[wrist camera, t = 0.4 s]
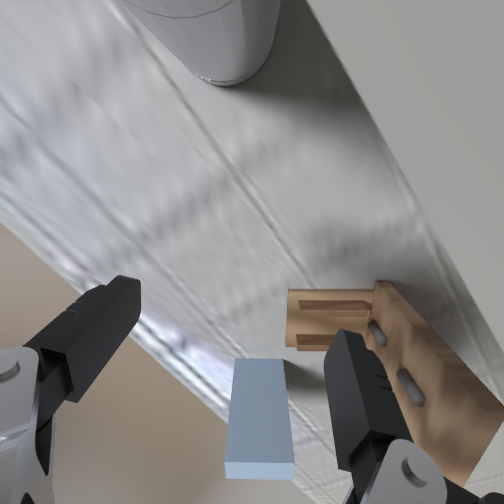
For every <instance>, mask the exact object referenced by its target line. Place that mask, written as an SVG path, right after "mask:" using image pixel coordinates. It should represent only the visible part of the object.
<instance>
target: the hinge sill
mask: <svg viewBox="0 0 504 504" xmlns="http://www.w3.org/2000/svg"><path fill="white" fill-rule="evenodd" d="M339 329H345V330H349V331H353V332H357V333H361V334H362V336H363V339H364V342H365V344H366V347H367V349H369V350H373V351H374V353H375V354H376V355H377V357H378V358H379V359H380V360H381V362H382V363H383V365H384V368H385V370H386V373H387V375H388V380H390V383H391V386H392V388H393V392H394V393H395V396H396V398H397V401H398V403H399V406H400V409H401V411H402V414H403V416H404V419H405V421H406V424H407V426H408V429H409V431H410V434H411V437H412V439H413V441H414V443H415V444H416V445H417V446H419V447H420V448H421V449H423V450H424V451H425V452H426V453H427V454H428V455H429V456H430V457H431V458H432V460H433V461H434V462H435V463H436V465H437V467H438V468H439V470H440V472H441V473H442V475H443V476H444V477H445V478H447V479H449V480H450V481H452V482H454V483H455V484H457V485H459V486H460V487H462V488H463V486H464V485H465V483H466V481H467V480H468V478H469V477H470V475H471V473H472V472H473V470H474V468H475V467H476V465H477V463H478V462H479V460H480V458H481V457H482V455H483V454H484V452H485V450H486V449H487V447H488V445H489V444H490V442H491V440H492V439H493V437H494V436H495V434H496V432H497V431H498V429H499V427H500V426H501V424H502V422H503V421H504V405H503V404H502V403H501V402H500V401H499V400H498V399H497V398H496V397H495V396H494V395H493V394H492V392H491V391H490V390H489V389H488V388H487V387H486V386H485V385H484V384H483V383H482V382H481V381H480V380H479V378H478V377H477V376H476V375H475V374H474V373H473V372H472V371H471V370H470V369H469V368H468V367H467V365H466V364H465V363H464V362H463V361H462V360H461V359H460V358H459V357H458V356H457V355H456V354H455V352H454V351H453V350H452V349H451V348H450V347H449V346H448V345H447V344H446V343H445V342H444V341H443V339H442V338H441V337H440V336H439V335H438V334H437V333H436V332H435V331H434V330H433V329H432V328H431V327H430V325H429V324H428V323H427V322H426V321H425V320H424V319H423V318H422V317H421V316H420V315H419V314H418V312H417V311H416V310H415V309H414V308H413V307H412V306H411V305H410V304H409V303H408V302H407V301H406V299H405V298H404V297H403V296H402V295H401V294H400V293H399V292H398V291H397V290H396V289H395V288H394V286H393V285H392V284H391V283H390V282H389V281H376V285H375V289H288V303H287V322H286V342H285V344H286V347H297V351H328V349H329V347H330V345H331V343H332V341H333V339H334V337H335V335H336V333H337V332H338V330H339Z"/></svg>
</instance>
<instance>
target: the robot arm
mask: <svg viewBox="0 0 504 504" xmlns="http://www.w3.org/2000/svg"><path fill="white" fill-rule="evenodd" d="M120 1H121V2H122V3H123V4H124V5H125V6H126V7H127V8H128V9H129V10H130V11H131V12H132V13H133V14H134V15H135V16H136V17H137V18H138V19H139V20H140V21H141V22H142V23H143V24H144V25H145V26H146V27H147V28H148V29H149V30H150V31H151V32H152V33H153V34H154V35H155V36H156V37H157V38H158V39H159V40H160V41H161V42H162V43H163V44H164V45H165V46H166V48H167V49H168V50H169V51H170V52H171V53H172V54H173V55H174V56H175V57H176V58H177V59H178V60H179V61H180V62H181V63H182V64H183V65H184V66H185V67H186V68H188V69H189V70H190V71H191V72H192V73H193V74H194V75H195V76H196V77H198V78H199V79H201V80H203V81H204V82H207V83H210V84H213V85H218V86H230V85H236V84H238V83H241V82H243V81H246V80H247V79H248V78H250V77H251V76H252V75H254V74H255V73H256V72H257V71H258V70H259V68H260V67H261V66H262V65H263V63H264V62H265V60H266V58H267V57H268V55H269V53H270V50H271V47H272V44H273V42H274V37H275V31H276V25H277V20H278V15H279V9H280V3H281V0H120ZM140 313H141V283H140V280H138V279H135V278H130V277H126V276H122V275H118V276H116V277H115V278H114V279H113V280H112V281H111V282H110V283H109V284H108V285H107V286H106V285H99V286H97V287H95V288H93V289H91V290H89V291H87V292H85V293H84V294H83V295H82V296H81V297H80V298H78V299H77V300H76V301H75V303H73V304H72V305H70V306H69V307H68V308H67V309H66V311H63V312H62V313H61V314H60V315H59V316H57V318H55V319H54V320H53V321H52V322H50V323H49V324H48V325H47V326H46V327H45V328H44V329H42V330H41V331H40V332H39V333H38V334H37V335H35V336H34V337H33V338H32V339H31V340H30V341H28V342H27V343H26V344H25V345H23V346H22V347H12V348H7V349H3V350H1V351H0V504H55V501H54V492H53V464H54V447H55V431H56V430H55V429H56V410H57V409H58V408H59V406H60V405H61V404H62V402H63V401H64V400H67V401H71V402H75V403H78V402H79V400H80V399H81V398H82V396H83V395H84V393H85V392H86V391H87V389H88V388H89V387H90V385H91V384H92V383H93V381H94V380H95V379H96V377H97V376H98V375H99V373H100V372H101V370H102V369H103V368H104V366H105V365H106V364H107V362H108V361H109V360H110V358H111V357H112V356H113V354H114V353H115V351H116V350H117V349H118V347H119V346H120V345H121V343H122V342H123V340H124V339H125V338H126V337H127V335H128V334H129V333H130V331H131V330H132V328H133V327H134V326H135V324H136V323H137V321H138V319H139V316H140ZM324 374H325V381H326V388H327V395H328V402H329V409H330V415H331V422H332V429H333V436H334V443H335V449H336V456H337V463H338V469H340V470H344V471H348V472H351V474H352V479H353V484H352V485H351V487H350V489H349V491H348V493H347V495H346V497H345V499H344V501H343V503H342V504H504V495H503V494H500V493H496V492H492V493H489V494H487V495H485V496H484V497H482V498H479V497H477V496H476V495H474V494H472V493H471V492H469V491H467V490H466V489H464V488H462V487H460V486H459V485H457V484H455V483H454V482H452V481H450V480H449V479H447V478H445V477H444V476H443V475H442V473H441V472H440V470H439V468H438V467H437V465H436V463H435V462H434V461H433V460H432V458H431V457H430V456H429V455H428V454H427V453H426V452H425V451H424V450H423V449H421V448H420V447H419V446H417V445H416V444H415V443H414V441H413V439H412V437H411V434H410V431H409V429H408V426H407V424H406V421H405V419H404V416H403V414H402V411H401V409H400V406H399V403H398V401H397V398H396V396H395V393H394V392H393V388H392V386H391V383H390V380H388V375H387V373H386V370H385V368H384V365H383V363H382V362H381V360H380V359H379V358H378V357H377V355H376V354H375V353H374V351H373V350H369V349H367V347H366V344H365V342H364V339H363V336H362V334H361V333H357V332H353V331H349V330H345V329H339V330H338V332H337V333H336V335H335V337H334V339H333V341H332V343H331V345H330V347H329V349H328V351H327V353H326V356H325V360H324Z"/></svg>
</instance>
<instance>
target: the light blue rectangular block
mask: <svg viewBox="0 0 504 504" xmlns="http://www.w3.org/2000/svg"><path fill="white" fill-rule="evenodd" d="M224 463H225V473H226V478H227V479H230V478H231V479H280V480H282V479H283V480H293V476H294V465H295V461H294V453H293V444H292V435H291V426H290V418H289V409H288V400H287V391H286V382H285V374H284V365H283V359H235V365H234V375H233V384H232V394H231V403H230V413H229V423H228V432H227V442H226V451H225V462H224Z"/></svg>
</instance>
